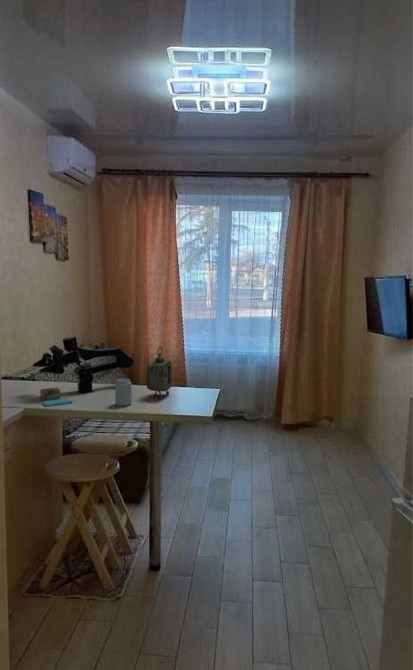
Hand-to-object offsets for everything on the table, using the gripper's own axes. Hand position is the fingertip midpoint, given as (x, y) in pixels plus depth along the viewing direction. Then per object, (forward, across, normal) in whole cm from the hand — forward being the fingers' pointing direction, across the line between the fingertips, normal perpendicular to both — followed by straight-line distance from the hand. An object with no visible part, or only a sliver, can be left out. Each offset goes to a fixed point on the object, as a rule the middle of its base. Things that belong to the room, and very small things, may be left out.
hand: (36, 367), depth 231 cm
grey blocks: (-2, +7, +15) cm, 17 cm away
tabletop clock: (-47, +35, +20) cm, 61 cm away
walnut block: (-2, +7, +15) cm, 17 cm away
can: (-25, +38, +15) cm, 48 cm away
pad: (-1, +17, +13) cm, 22 cm away
